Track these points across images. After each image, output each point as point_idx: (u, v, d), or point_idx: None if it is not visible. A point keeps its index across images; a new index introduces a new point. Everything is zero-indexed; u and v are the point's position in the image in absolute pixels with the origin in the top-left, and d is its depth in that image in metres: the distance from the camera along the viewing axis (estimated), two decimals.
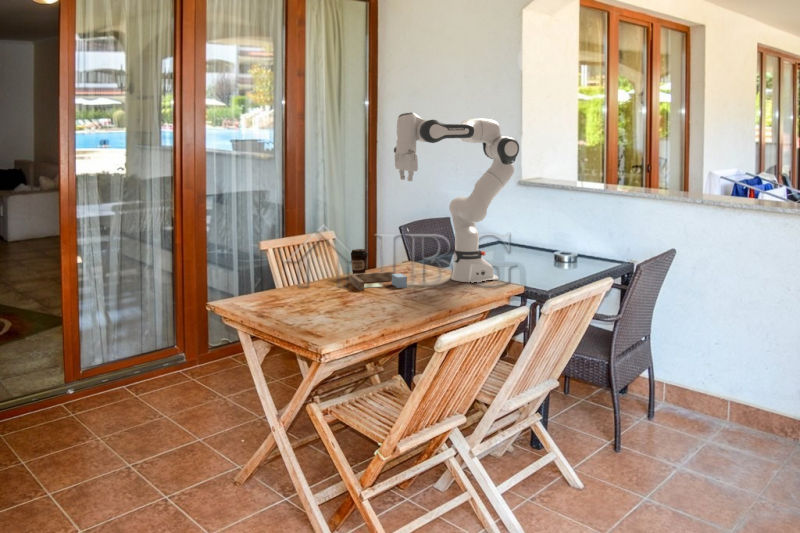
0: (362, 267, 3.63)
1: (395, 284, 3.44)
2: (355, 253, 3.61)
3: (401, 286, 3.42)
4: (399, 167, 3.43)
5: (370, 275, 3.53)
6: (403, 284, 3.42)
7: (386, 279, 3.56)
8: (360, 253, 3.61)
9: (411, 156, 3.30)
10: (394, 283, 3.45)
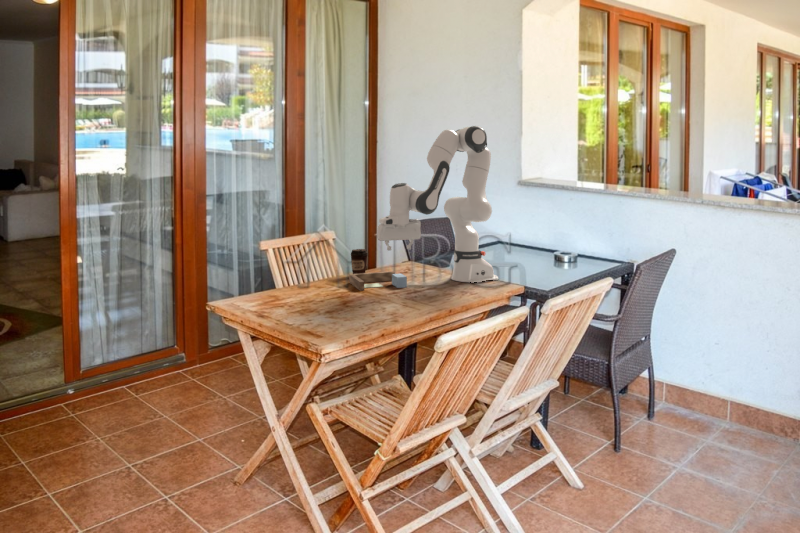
0: (362, 267, 3.63)
1: (395, 284, 3.44)
2: (355, 253, 3.61)
3: (401, 286, 3.42)
4: (392, 238, 3.38)
5: (370, 275, 3.53)
6: (402, 284, 3.42)
7: (386, 279, 3.56)
8: (360, 253, 3.61)
9: None
10: (394, 283, 3.45)
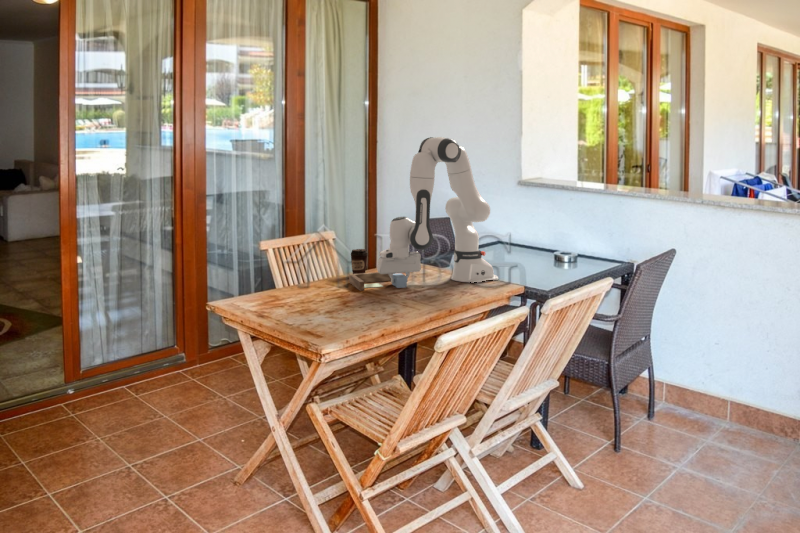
0: (362, 267, 3.63)
1: (395, 284, 3.44)
2: (355, 253, 3.61)
3: (401, 286, 3.42)
4: (392, 271, 3.41)
5: (370, 275, 3.53)
6: (402, 283, 3.42)
7: (386, 279, 3.56)
8: (360, 253, 3.61)
9: None
10: (394, 283, 3.45)
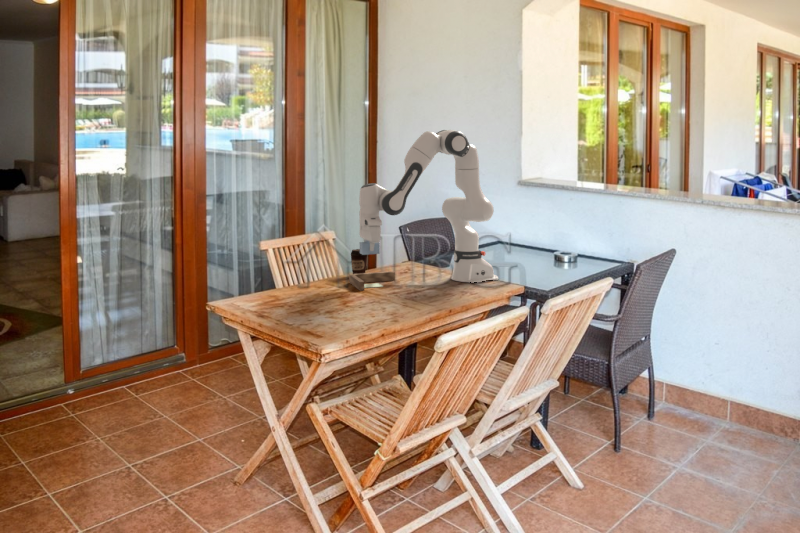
0: (362, 267, 3.63)
1: (373, 251, 3.40)
2: (355, 253, 3.61)
3: None
4: None
5: (370, 275, 3.53)
6: None
7: (386, 279, 3.56)
8: None
9: None
10: (370, 251, 3.40)
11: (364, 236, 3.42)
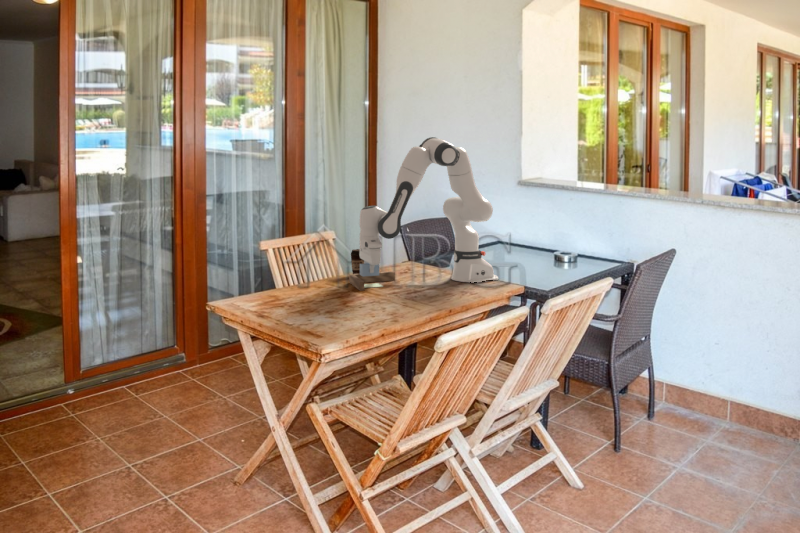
0: None
1: (373, 273, 3.42)
2: (355, 253, 3.61)
3: None
4: None
5: None
6: None
7: (386, 279, 3.56)
8: None
9: None
10: (370, 273, 3.41)
11: (364, 258, 3.43)
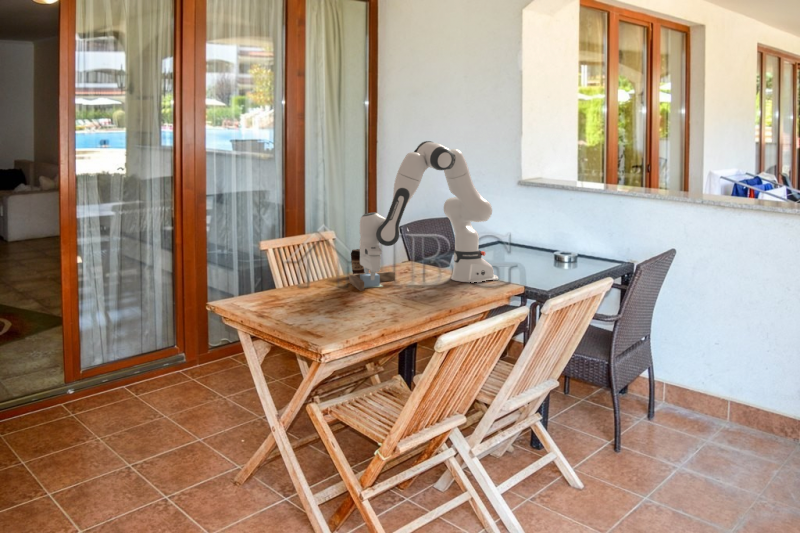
0: (362, 267, 3.63)
1: (373, 283, 3.43)
2: (355, 253, 3.61)
3: None
4: None
5: None
6: None
7: (386, 279, 3.56)
8: None
9: None
10: (371, 283, 3.43)
11: (364, 264, 3.44)
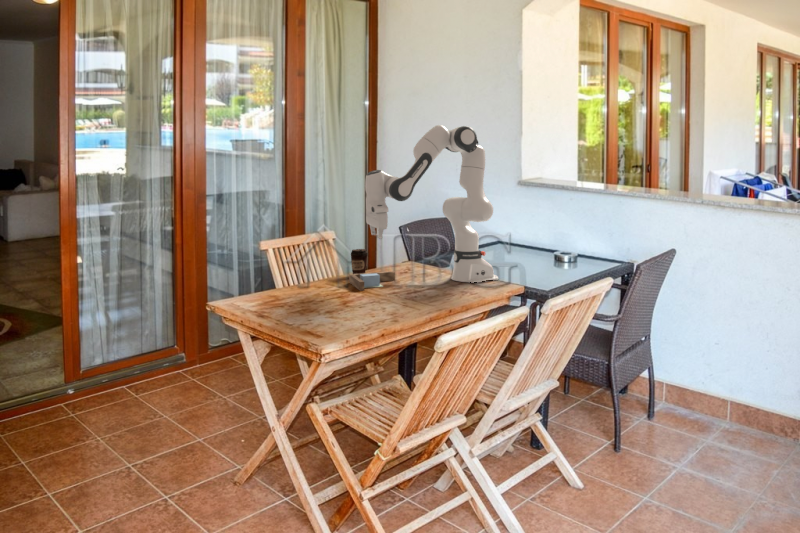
0: (362, 267, 3.63)
1: (373, 283, 3.43)
2: (355, 253, 3.61)
3: None
4: None
5: None
6: None
7: (386, 279, 3.56)
8: (360, 253, 3.61)
9: None
10: (371, 283, 3.43)
11: (371, 223, 3.44)
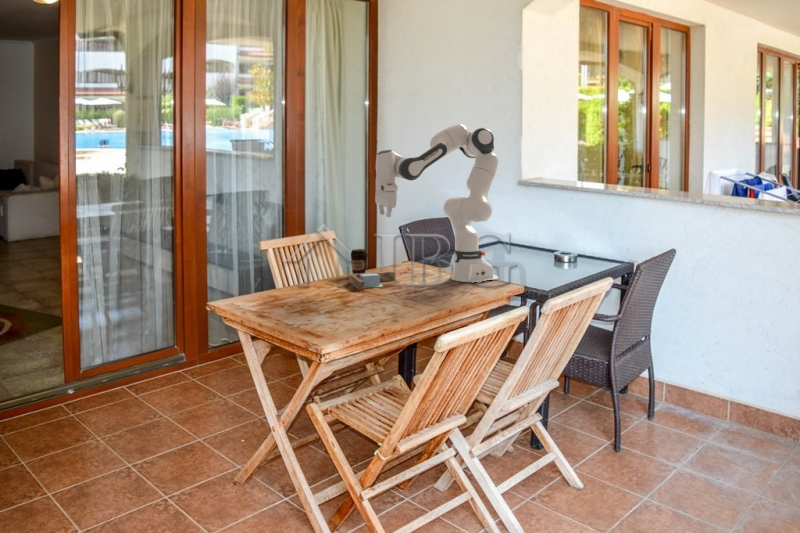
0: (362, 267, 3.63)
1: (373, 283, 3.43)
2: (355, 253, 3.61)
3: None
4: None
5: None
6: None
7: (386, 279, 3.56)
8: (360, 253, 3.61)
9: None
10: (371, 283, 3.43)
11: (380, 202, 3.49)
